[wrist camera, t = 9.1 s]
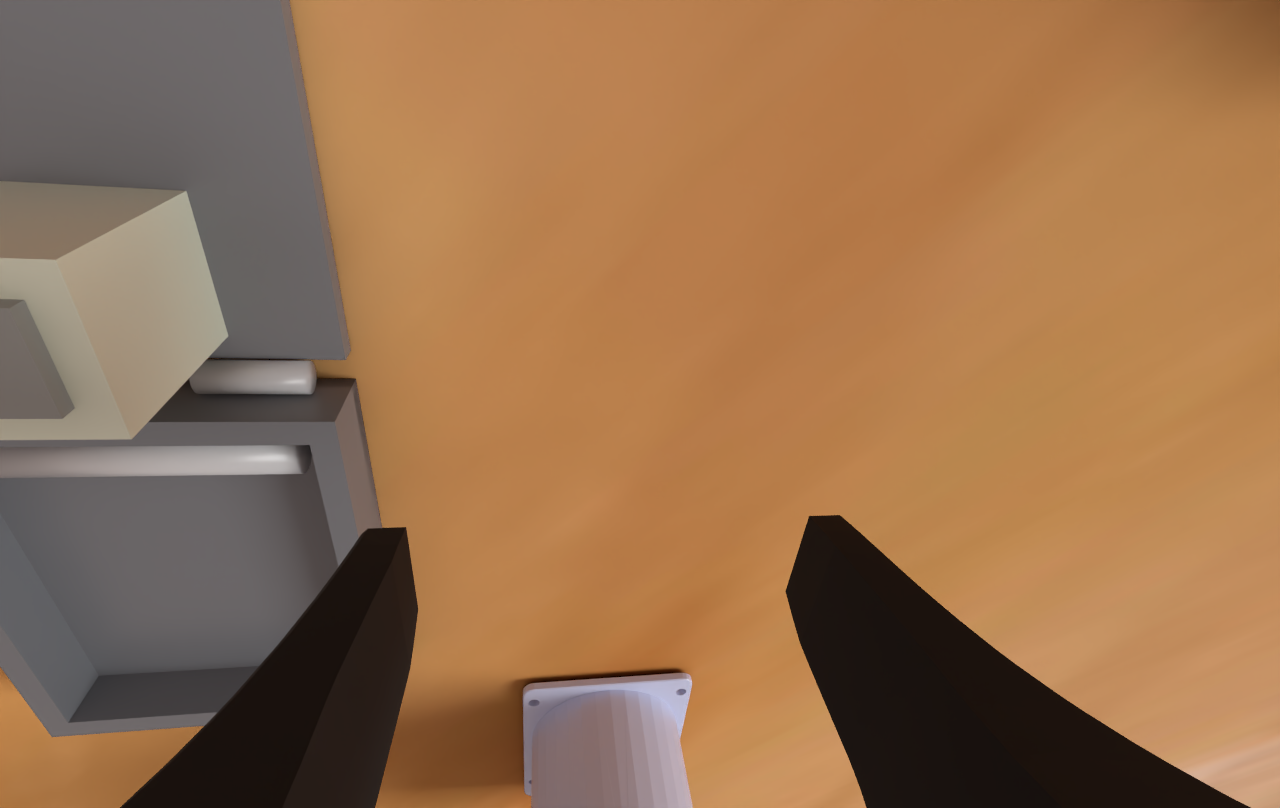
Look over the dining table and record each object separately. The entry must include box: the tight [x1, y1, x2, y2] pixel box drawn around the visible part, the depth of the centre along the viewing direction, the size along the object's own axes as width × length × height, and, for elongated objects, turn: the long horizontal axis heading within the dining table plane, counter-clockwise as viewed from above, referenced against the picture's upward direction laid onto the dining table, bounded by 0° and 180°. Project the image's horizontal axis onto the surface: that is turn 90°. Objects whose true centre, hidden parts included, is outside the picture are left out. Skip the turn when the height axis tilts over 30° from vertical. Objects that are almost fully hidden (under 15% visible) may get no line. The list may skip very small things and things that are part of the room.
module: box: [0, 181, 228, 440], centre depth 14 cm, size 4×4×5 cm
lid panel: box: [0, 0, 351, 394], centre depth 15 cm, size 11×12×1 cm
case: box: [0, 379, 382, 737], centre depth 21 cm, size 14×12×2 cm
